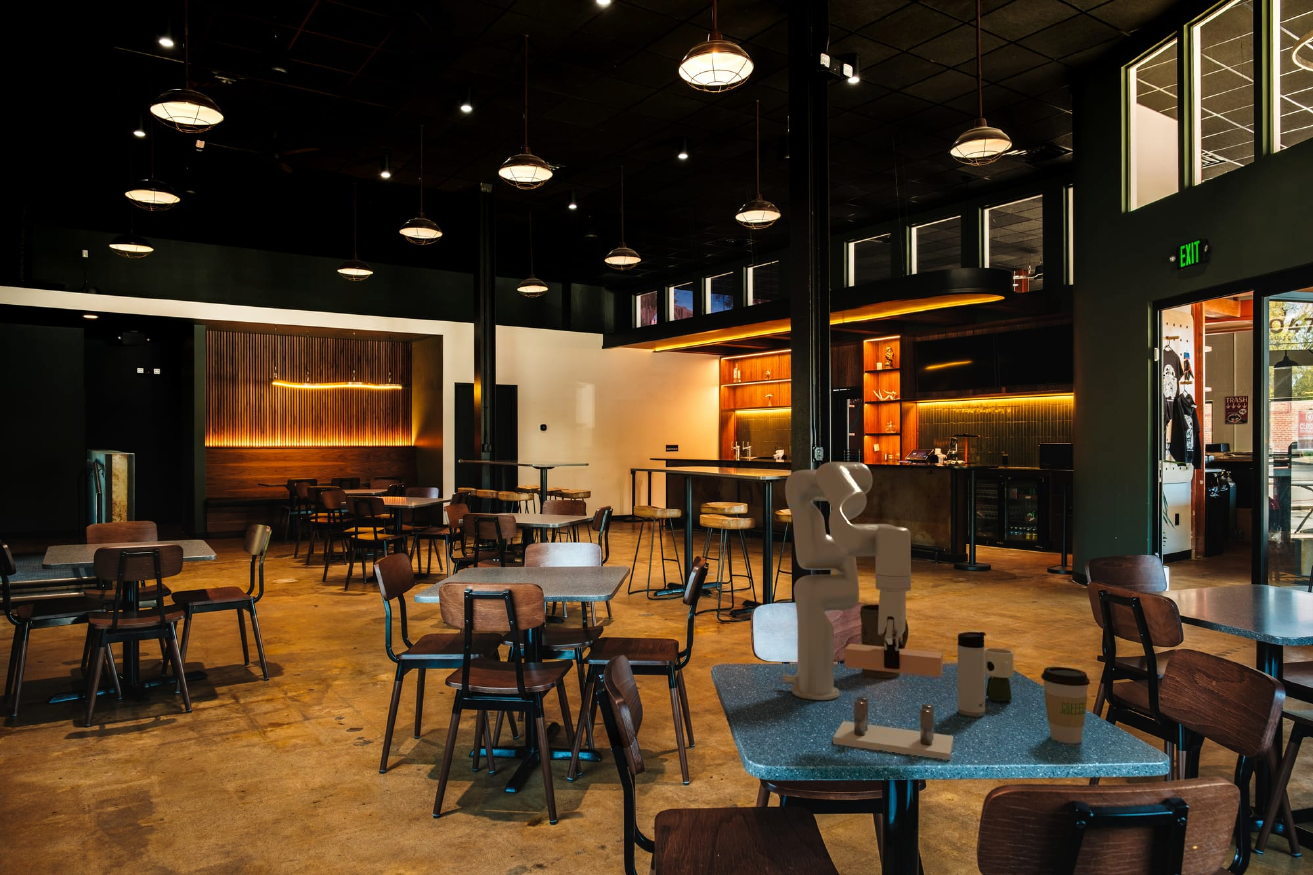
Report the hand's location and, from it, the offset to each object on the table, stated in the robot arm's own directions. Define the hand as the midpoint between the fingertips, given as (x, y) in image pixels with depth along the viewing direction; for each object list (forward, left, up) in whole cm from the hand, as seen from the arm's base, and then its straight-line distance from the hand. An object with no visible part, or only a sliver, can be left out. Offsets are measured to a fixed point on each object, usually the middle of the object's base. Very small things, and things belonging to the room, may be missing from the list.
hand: (893, 664), depth 174 cm
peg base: (0, 0, -17) cm, 17 cm away
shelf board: (0, 0, -1) cm, 1 cm away
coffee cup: (+35, +20, -17) cm, 44 cm away
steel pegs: (0, 0, -16) cm, 16 cm away
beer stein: (-10, +61, -17) cm, 64 cm away
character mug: (+21, +46, -17) cm, 54 cm away
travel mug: (+15, +31, -17) cm, 39 cm away
